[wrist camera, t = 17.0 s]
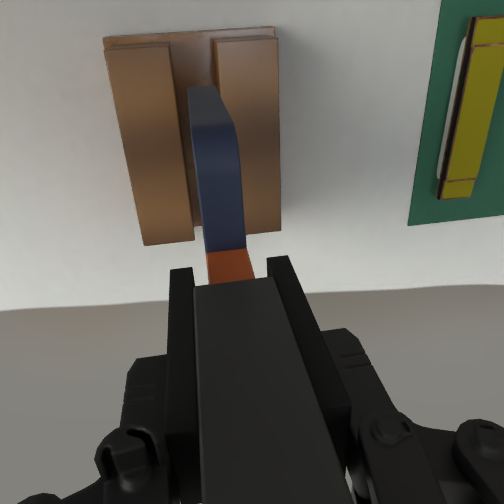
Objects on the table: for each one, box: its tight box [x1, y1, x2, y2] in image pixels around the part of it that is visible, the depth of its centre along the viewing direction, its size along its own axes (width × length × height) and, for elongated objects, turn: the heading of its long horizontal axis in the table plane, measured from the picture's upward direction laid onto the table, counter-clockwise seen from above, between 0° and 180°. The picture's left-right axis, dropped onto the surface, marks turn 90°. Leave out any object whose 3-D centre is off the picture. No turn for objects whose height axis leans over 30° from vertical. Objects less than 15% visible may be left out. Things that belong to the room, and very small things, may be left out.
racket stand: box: [102, 26, 281, 246], centre depth 32 cm, size 15×12×5 cm
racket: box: [187, 85, 354, 504], centre depth 16 cm, size 11×3×27 cm, turn 3°
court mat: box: [408, 0, 504, 226], centre depth 37 cm, size 12×21×1 cm, turn 3°
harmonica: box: [436, 15, 504, 200], centre depth 36 cm, size 15×3×2 cm, turn 2°
